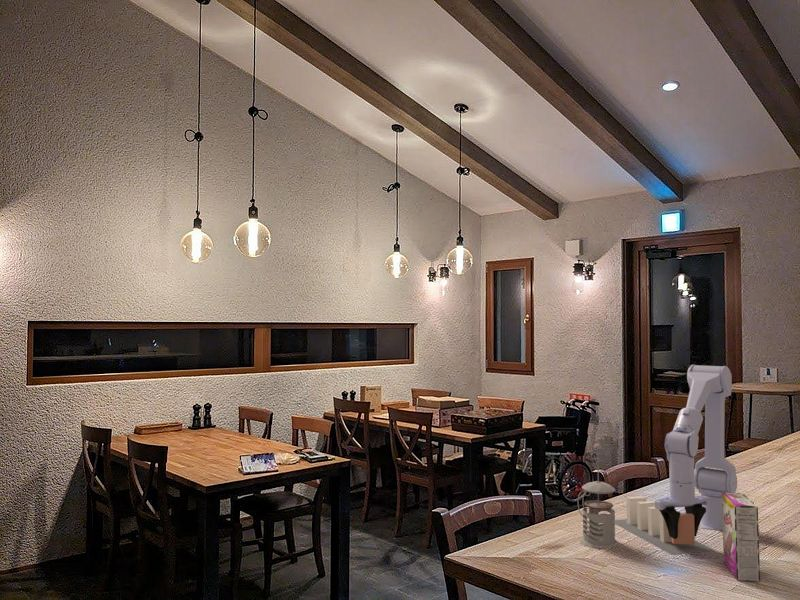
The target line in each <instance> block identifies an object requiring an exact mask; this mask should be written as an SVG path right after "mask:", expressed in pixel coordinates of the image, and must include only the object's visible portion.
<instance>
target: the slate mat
mask: <svg viewBox="0 0 800 600" xmlns="http://www.w3.org/2000/svg"><path fill="white" fill-rule="evenodd" d="M614 522H615V526H616V525H617V526H619V527H620V528H622V529H624V530H626V531H627V532H630V533H631V534H633V535H635V536H637V537H639V538H640V539H643V540H644V541H645V542H648V543H649V544H650V545H651V544H652V545H653V546H655V547H657V548H659V549H660V550H662V551H664V552H665V553H668V554H670V555H672V556H674V555H675V556H676V555H684V554H693V553H694V554H695V553H705V552H714V551H716V549H714V548H711V547H709V546H707V545H705V544H703V543H702V542H699V541H698V540H695V545H693V544H673V543H672V542H662V541H660V535H659V536H651V535H649V534H648V530H639V529H638V528H637V524H632V525H630V524H628V523H627V518H624V519H615V521H614Z"/></svg>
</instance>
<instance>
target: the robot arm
mask: <svg viewBox="0 0 800 600" xmlns="http://www.w3.org/2000/svg"><path fill="white" fill-rule="evenodd" d="M686 372H687V373H686V380H687V383H688V388H689V392H688V397H687V403H686V406H685V407H683V408H681V409H679V413H678V414H677V418H676V421H675V423H674V426H673V429H672V431H670V432H668V433H666V435H665V439H664V449H665V452H666V460H667V461H668V463H669V464H668V466H669V467H668V468H669V469H668V470H669V471H668V472H669V475H668V476H669V495H668V496H667V497H664V498H661V499H655V500H654V501H655V508H656V509H659V511H660V512H661V514H662V516H663V518H664V520H665V522H666V525H667V528H668V532H669V536H670V537H672V538H674V539H677V537H678V522H679V517H680V514H682V513H681V512H680V511H678V510H677V509H676V508H684V511H685V514H693V515H694V530H695V537H697V535H698V532H699V526H700V527H701V529H702V530H712V531H723V519H722V493H724V492H728V493H737V488H738V476H737V470H736V466H735V465H734V464H733V463H731V461H729V460H728V459H727V458H726V457H725V419H726V418H725V416H726V415H725V405H726V403H725V402H726V398H728V397H729V396H731V395H732V383H733V381H732V378H733V377H732V372H731V370H730V368H729V367H728V366H727V365H723V366H722V365H721V366H720V365H719V366H718V365H698V364H697V365H696V364H691V365H690V366H689V367H688V369H687V371H686ZM703 408H705V410H704V415H705V416H704V417H703V415H702V413H701V412H702V411H703ZM703 420H704V425H705V426H704V456H703V457H702V458H700V459H699V460H697V462H696V463H695V456H697V453H698V450H699V449H698V448H699V440H700V438H699V432H700V430H701V426H702V424H703ZM696 490H698V493H699V494H700V495H696V493H695V491H696Z"/></svg>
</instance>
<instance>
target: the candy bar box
mask: <svg viewBox="0 0 800 600" xmlns="http://www.w3.org/2000/svg"><path fill="white" fill-rule="evenodd" d="M722 519H723V530H722V542H723V543H722V544H723V546H722V547H723V563H724V564H725V565H726V567H727V568H728V570H729V571H730V572H731V574H732V575H733V577H734V578H735V580H737V581H738V582H739V581H740V582H748V583H749V582H750V583H753V582H754V583H761V570H760V569H761V566H760V563H761V562H760V561H761V560H760V535H759V532H760V530H759V527H760V526H759V506H757V505H756V504H755V503H754V502H753V501H752V500H751V499H750V498H749V497H747V496H746V495H745V494H744V493H743V492H742V493H741V492H735V493H728V492H724V493H722Z"/></svg>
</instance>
